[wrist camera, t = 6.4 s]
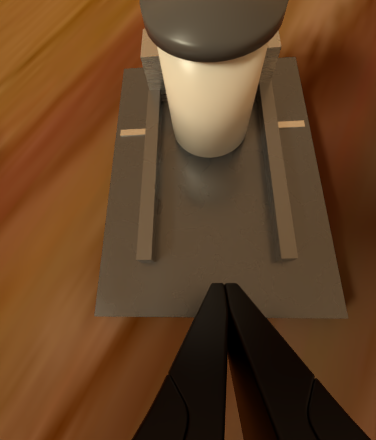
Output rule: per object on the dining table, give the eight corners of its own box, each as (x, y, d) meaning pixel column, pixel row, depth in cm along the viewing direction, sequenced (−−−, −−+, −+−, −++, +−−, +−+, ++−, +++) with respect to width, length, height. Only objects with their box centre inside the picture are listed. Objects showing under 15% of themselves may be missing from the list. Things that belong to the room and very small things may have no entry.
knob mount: (335, 316, 15) (401, 326, 10) (104, 314, 16) (56, 323, 11) (289, 72, 22) (315, 3, 17) (129, 82, 23) (107, 21, 18)
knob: (255, 160, 17) (301, 36, 9) (167, 163, 18) (134, 49, 10) (248, 91, 20) (279, -60, 11) (169, 96, 20) (144, -46, 12)
